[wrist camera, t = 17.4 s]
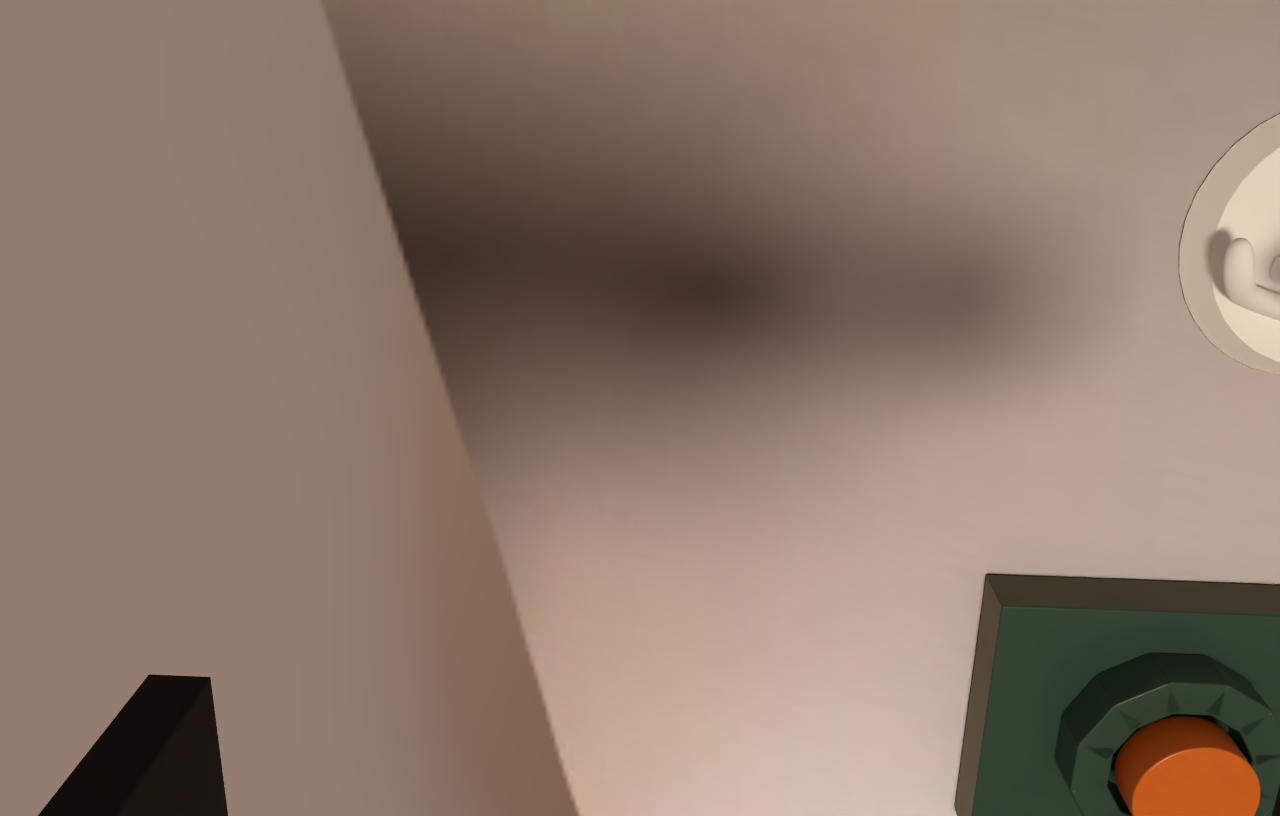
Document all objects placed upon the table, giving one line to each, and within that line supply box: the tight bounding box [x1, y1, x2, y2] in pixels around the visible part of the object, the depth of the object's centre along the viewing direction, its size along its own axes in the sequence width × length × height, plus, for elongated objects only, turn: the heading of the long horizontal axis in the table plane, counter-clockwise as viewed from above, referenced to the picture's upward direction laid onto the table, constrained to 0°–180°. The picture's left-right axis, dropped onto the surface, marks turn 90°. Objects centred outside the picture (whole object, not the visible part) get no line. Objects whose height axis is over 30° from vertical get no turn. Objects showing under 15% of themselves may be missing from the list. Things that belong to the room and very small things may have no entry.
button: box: [1114, 716, 1260, 816], centre depth 38 cm, size 4×4×2 cm
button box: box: [955, 575, 1280, 816], centre depth 40 cm, size 12×10×4 cm
